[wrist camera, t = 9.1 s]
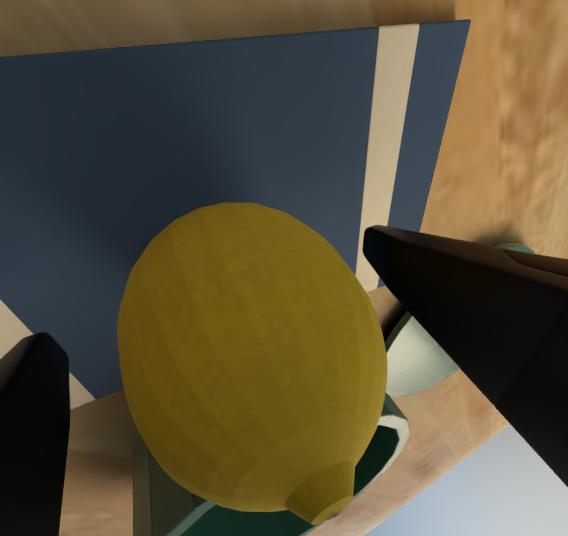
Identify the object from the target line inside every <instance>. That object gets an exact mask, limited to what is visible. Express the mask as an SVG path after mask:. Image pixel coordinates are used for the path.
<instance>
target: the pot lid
mask: <svg viewBox="0 0 568 536" xmlns="http://www.w3.org/2000/svg"><path fill="white" fill-rule="evenodd" d="M494 247H499V248H501V249H502V248H504V249H510V250H515V251H520V252H526V253H532V254H535V253H534V251H533V250H531V249H530V248H529V247H526V246H524V245H521V244H518V243H506V244H501V245H497V246H494ZM385 348H386V354H387V360H388V374H387V386H386V393H387V394H388V395H389V396H393V397H402V396H407V395H411V394H415V393H417V392H420V391H422V390H425V389H427V388H429V387H431V386H433V385H435V384H437V383H438V382H440V381H442V380H444V379H445V378H447V377H448V376H450V375H451V374H453V373H454V372H456V371H457V370H458V369H460V368H459V367H458V366H457V364H456V363H455V362H454V361H453V360H452V359H451V358H450V357H449V356H448V355H447V353H446V352H445V351H444V350H443V349H442V348H441V347H440V346H439V345H438V343H437V342H436V341H435V340H434V339H433V338H432V337H431V336H430V335H429V334H428V332H427V331H426V330H425V329H424V328H423V327H422V326H421V325H420V324H419V323H418V321H417V320H416V319H415V318H414V317H413V316H412V315H411V314H410V313H409V312H408V311H407V312H406V313H405V314H404V316H403V317H402V318H401V319H400V321H399V322H398V323H397V325H396V326H395V327H394V329H393V331H392V332H391V334H390V335H389V337H388V338H387V340H386V342H385Z"/></svg>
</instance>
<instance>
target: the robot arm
mask: <svg viewBox="0 0 568 536" xmlns="http://www.w3.org/2000/svg"><path fill="white" fill-rule="evenodd" d="M362 251H363V255H364V257H365V258H366V259H367V261H368V262H369V264H370V265H371V266H372V268H373V269H374V270H375V272H376V273H377V274H378V276H379V277H380V279H381V280H382V281H383V283H384V284H385V285H386V287H387V288H388V289H389V290H390V292H391V293H392V294H393V295H394V296H395V297H396V298H397V299H398V301H399V302H400V303H401V304H402V305H403V306H404V307H405V308H406V309H407V310H408V312H409V313H410V314H411V315H412V316H413V317H414V318H415V319H416V320H417V321H418V323H419V324H420V325H421V326H422V327H423V328H424V329H425V330H426V331H427V332H428V334H429V335H430V336H431V337H432V338H433V339H434V340H435V341H436V342H437V343H438V345H439V346H440V347H441V348H442V349H443V350H444V351H445V352H446V353H447V355H448V356H449V357H450V358H451V359H452V360H453V361H454V362H455V363H456V364H457V366H458V367H459V368H460V369H461V370H462V371H463V372H464V373H465V374H466V375H467V377H468V378H469V379H470V380H471V381H472V382H473V383H474V384H475V385H476V386H477V388H478V389H479V390H480V391H481V392H482V393H483V394H484V395H485V396H486V397H487V399H488V400H489V401H490V402H491V403H492V404H493V405H494V406H495V408H496V409H497V410H498V411H499V412H500V413H501V414H502V415H503V416H504V418H505V419H506V420H507V421H508V422H509V423H510V424H511V425H512V426H513V427H514V428H515V430H516V431H517V432H518V433H519V434H520V435H521V436H522V437H523V438H524V439H525V441H527V443H528V444H529V445H530V446H531V447H532V448H533V449H534V451H535V452H536V453H537V454H538V455H539V456H540V457H541V458H542V459H543V460H544V462H545V463H546V464H547V465H548V466H549V467H550V468H551V469H552V470H553V471H554V473H555V474H556V475H557V476H558V477H559V478H560V479H561V480H562V481H563V482H564V484H565V485H566V486H567V487H568V259H562V258H556V257H550V256H543V255H537V254H532V253H526V252H520V251H515V250H510V249H504V248H502V249H501V248H499V247H494V246H488V245H483V244H478V243H473V242H467V241H462V240H457V239H451V238H446V237H441V236H436V235H430V234H425V233H420V232H414V231H409V230H404V229H399V228H393V227H388V226H383V225H374V226H371V227H368V228H366V229H365V231H364V238H363V247H362ZM69 429H70V380H69V359H68V355H67V353H66V352H65V350H64V349H63V348H62V347H61V346H60V345H59V344H58V343H57V342H56V341H55V339H54V338H53V337H52V336H51V335H50V334H49V333H47V332H39V333H36V334H33V335H30V336H27V337H24V338H22V339H21V340H20V341H19V342H18V343H17V344H16V345H15V346H14V347H13V348H12V349H10V350H9V351H8V352H7V353H6V354H5V355H4V356H3V357H2V358H1V359H0V536H58V535H59V526H60V516H61V506H62V497H63V487H64V477H65V468H66V458H67V448H68V439H69Z"/></svg>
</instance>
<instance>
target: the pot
mask: <svg viewBox="0 0 568 536" xmlns="http://www.w3.org/2000/svg"><path fill="white" fill-rule="evenodd" d="M409 434H410V429H409V424H408V420H407V418H406V417H405V416H404V414H403V413H402V412H401V410H400V409H399V408H398V407H397V405H396V404H395V403H394V402H393V400H392V399H391V398H390V396H389V395H388V394H387V393H386V392H385V399H384V404H383V409H382V413H381V416H380V419H379V422H378V426H377V429H376V431H375V433H374V435H373V437H372V439H371V441H370V443H369V444H368V446H367V448H366V450H365V452H364V454H363V456H362V457H361V459H360V460H359V462H358V463H357V465H356V466H355V474H354V490H353V499H352V501H353V500H354V499H355V498H357V497H358V496H359V495H360V494H361V493H363V492H364V491H365V490H366V489H367V488H368V487H369V486H370V485H371V484H372V483H373V482H374V481H375V480H376V479H377V478H378V477H379V476H381V475H382V474H383V473H384V472H385V471H386V470H387V468H388V467H389V466H390V465H391V464H392V462H393V461H394V460H395V459H396V457H397V456H398V455H399V453H400V452H401V451H402V449H403V447H404V445H405V443H406V441H407V438H408V436H409ZM352 501H351V502H352ZM351 502H350V503H351ZM324 522H325V521H324ZM324 522H322V523H324ZM322 523H319V524H316V525H312V524H310V523H309V522H307V521H306V520H304V519H302V518H301V517H299V516H298V515H296V514H294V513H293V512H291V511H290V510H282V511H274V512H245V511H238V510H234V509H230V508H226V507H221V506H219V505H217V504H215V503H212V502H210V501H208V500H206V499H203V498H201V497H199V496H197V495H195V494H193V493H191V492H189V491H188V490H187V489H185V488H184V487H182V486H181V485H179V484H178V483H176V482H175V481H173V480H172V478H171V477H170V476H169V475H168V474H167V473H166V472H165V471H164V470H163V469H162V468H161V466H160V465H159V464H158V462H157V461H156V459H155V458H154V456H153V455H152V453H151V452H150V450H149V448H148V447H147V445H146V443H145V442H144V440H143V438H142V437H141V435H140V433H139V431H137V433H136V437H135V443H134V447H133V536H304V535H306V534H308V533H309V532H311V531H312V530H314V529H315V528H316V527H318V526H320V525H321V524H322Z"/></svg>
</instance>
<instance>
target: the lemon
mask: <svg viewBox="0 0 568 536" xmlns="http://www.w3.org/2000/svg"><path fill="white" fill-rule="evenodd" d="M117 341H118V351H119V361H120V370H121V377H122V383H123V387H124V392H125V396H126V400H127V403H128V406H129V409H130V412H131V415H132V417H133V420H134V422H135V424H136V427H137V429H138V431H139V433H140V435H141V437H142V438H143V440H144V442H145V443H146V445H147V447H148V448H149V450H150V452H151V453H152V455H153V456H154V458H155V459H156V461H157V462H158V464H159V465H160V466H161V468H162V469H163V470H164V471H165V472H166V473H167V474H168V475H169V476H170V477H171V478H172V480H173V481H175V482H176V483H178V484H179V485H181V486H182V487H184V488H185V489H187V490H188V491H189V492H191V493H193V494H195V495H197V496H199V497H201V498H203V499H206V500H208V501H210V502H212V503H215V504H217V505H219V506H221V507H226V508H230V509H234V510H238V511H245V512H274V511H282V510H290V511H291V512H293V513H294V514H296V515H298V516H299V517H301V518H302V519H304V520H306V521H307V522H309V523H310V524H312V525H316V524H319V523H322V522H324V521H327V520H329V519H331V518H334V517H336V516H337V515H338V514H339V513H340V512H341V511H342V510H343V509H344V508H345V507H346V506H347V505H348V504H349V503H350V502H351V501H352V499H353V490H354V474H355V466H356V465H357V463H358V462H359V460H360V459H361V457H362V456H363V454H364V452H365V450H366V448H367V446H368V444H369V443H370V441H371V439H372V437H373V435H374V433H375V431H376V429H377V426H378V422H379V419H380V416H381V413H382V409H383V404H384V399H385V392H386V386H387V374H388V360H387V354H386V348H385V343H384V338H383V334H382V330H381V326H380V323H379V320H378V318H377V315H376V312H375V310H374V308H373V306H372V303H371V301H370V299H369V297H368V295H367V294H366V292H365V290H364V289H363V287H362V285H361V284H360V282H359V281H358V279H357V278H356V276H355V275H354V273H353V272H352V271H351V269H350V268H349V267H348V265H347V264H346V263H345V261H344V260H343V259H342V257H341V256H340V255H339V254H338V252H337V251H336V250H335V249H334V247H333V246H332V245H331V244H330V243H329V242H328V241H327V240H326V239H325V238H323V237H322V236H321V235H320V234H319V233H317V232H316V231H314V230H313V229H311V228H310V227H308V226H307V225H305V224H304V223H302V222H301V221H299V220H297V219H296V218H294V217H293V216H291V215H290V214H287V213H285V212H283V211H280V210H277V209H273V208H270V207H266V206H263V205H259V204H255V203H239V202H224V203H219V204H215V205H210V206H206V207H202V208H198V209H196V210H194V211H192V212H190V213H188V214H186V215H184V216H182V217H180V218H178V219H176V220H174V221H173V222H172V223H170V224H169V225H168V226H167V227H166V228H165V229H164V230H162V231H161V232H160V233H159V234H158V235H157V236H155V237H154V238H153V239H152V240H151V241H150V243H149V244H148V246H147V247H146V249H145V250H144V252H143V253H142V255H141V256H140V258H139V259H138V261H137V262H136V264H135V265H134V267H133V268H132V270H131V273H130V275H129V278H128V281H127V285H126V288H125V292H124V295H123V299H122V302H121V306H120V310H119V314H118V323H117Z"/></svg>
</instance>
